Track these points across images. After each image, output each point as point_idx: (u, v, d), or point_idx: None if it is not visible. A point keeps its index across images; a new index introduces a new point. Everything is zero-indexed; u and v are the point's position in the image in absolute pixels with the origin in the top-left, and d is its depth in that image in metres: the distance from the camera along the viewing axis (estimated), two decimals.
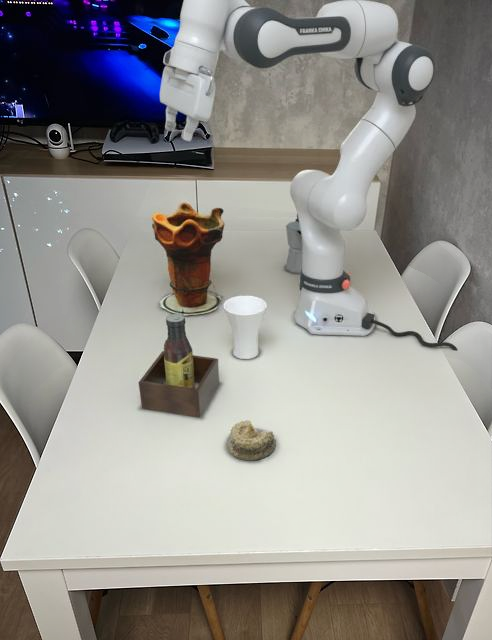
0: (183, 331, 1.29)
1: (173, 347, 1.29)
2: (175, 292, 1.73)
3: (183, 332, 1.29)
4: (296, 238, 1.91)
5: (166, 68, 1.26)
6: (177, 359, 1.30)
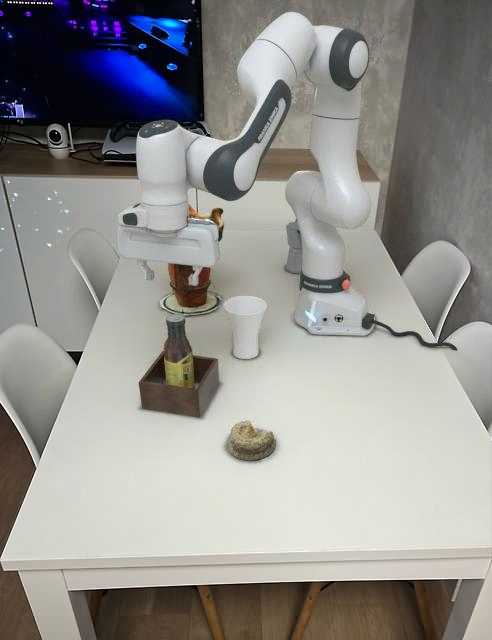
0: (183, 331, 1.29)
1: (173, 347, 1.29)
2: (175, 292, 1.73)
3: (183, 332, 1.29)
4: (296, 238, 1.91)
5: (127, 228, 1.16)
6: (177, 359, 1.30)
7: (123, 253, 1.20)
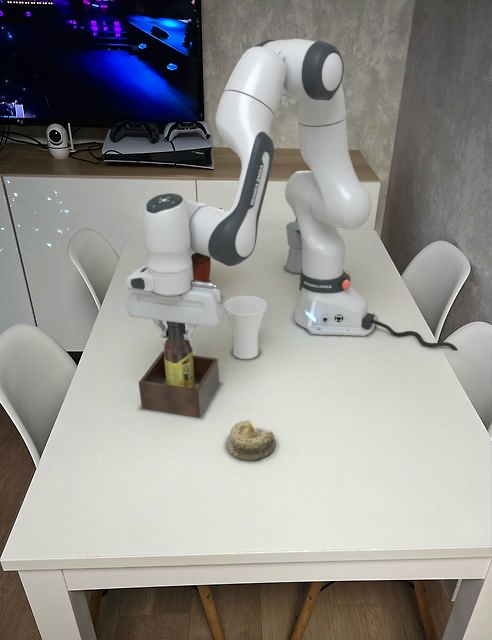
0: (183, 331, 1.29)
1: (174, 347, 1.29)
2: None
3: (183, 332, 1.29)
4: (296, 238, 1.91)
5: (135, 291, 1.23)
6: (177, 359, 1.30)
7: (131, 312, 1.28)
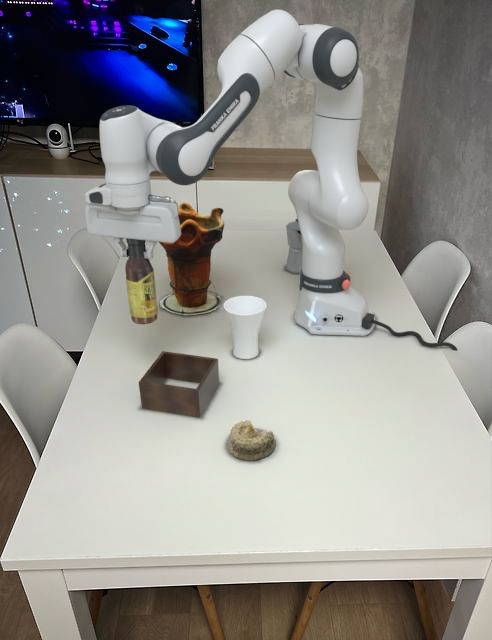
0: (143, 250, 1.31)
1: (134, 265, 1.31)
2: (175, 292, 1.73)
3: (143, 251, 1.31)
4: (296, 238, 1.91)
5: (94, 206, 1.25)
6: (137, 278, 1.32)
7: (91, 230, 1.30)
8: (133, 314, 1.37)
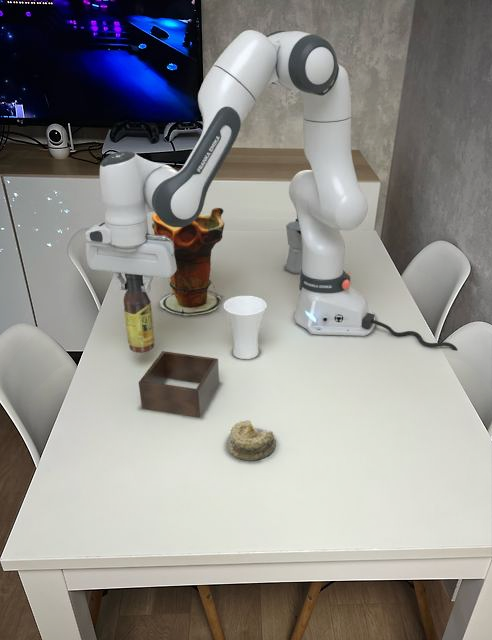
0: (141, 283, 1.38)
1: (132, 298, 1.39)
2: (175, 292, 1.73)
3: (141, 284, 1.38)
4: (296, 238, 1.91)
5: (94, 244, 1.33)
6: (135, 310, 1.40)
7: (91, 265, 1.37)
8: (131, 343, 1.45)
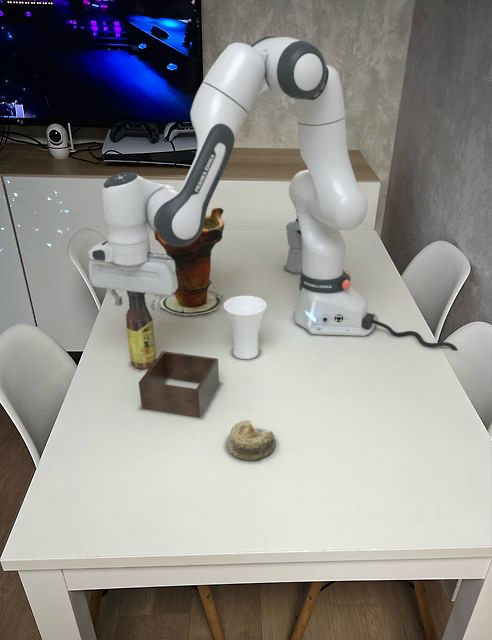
0: (143, 301, 1.41)
1: (134, 316, 1.41)
2: (175, 292, 1.73)
3: (143, 302, 1.41)
4: (296, 238, 1.91)
5: (97, 262, 1.35)
6: (137, 328, 1.42)
7: (94, 283, 1.39)
8: (133, 359, 1.47)
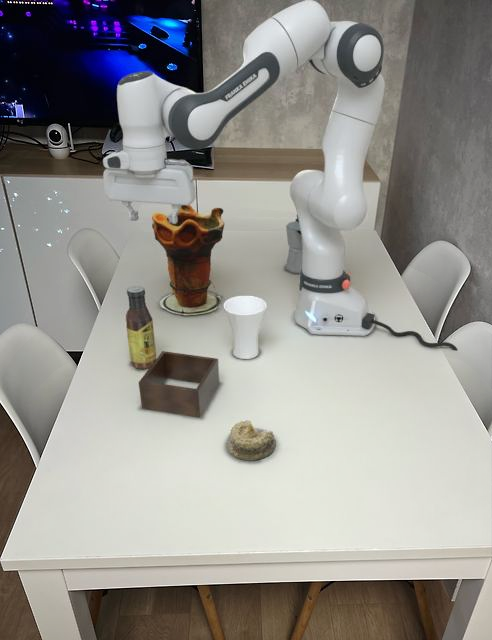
0: (143, 301, 1.41)
1: (134, 316, 1.41)
2: (175, 292, 1.73)
3: (143, 302, 1.41)
4: (296, 238, 1.91)
5: (112, 171, 1.30)
6: (137, 328, 1.42)
7: (109, 195, 1.34)
8: (133, 359, 1.47)
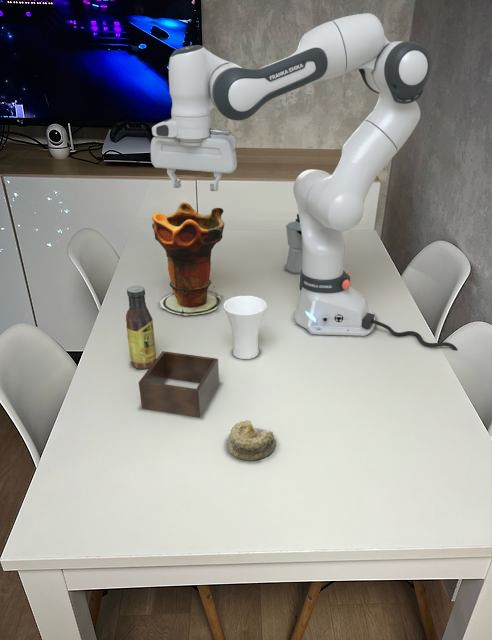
0: (143, 301, 1.41)
1: (134, 316, 1.41)
2: (175, 292, 1.73)
3: (143, 302, 1.41)
4: (296, 238, 1.91)
5: (160, 139, 1.39)
6: (137, 328, 1.42)
7: (155, 163, 1.43)
8: (133, 359, 1.47)
